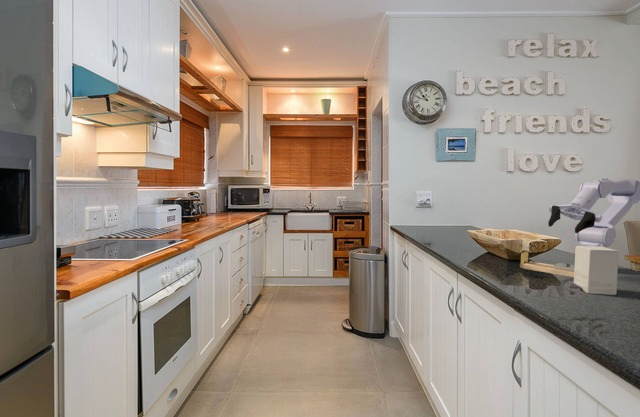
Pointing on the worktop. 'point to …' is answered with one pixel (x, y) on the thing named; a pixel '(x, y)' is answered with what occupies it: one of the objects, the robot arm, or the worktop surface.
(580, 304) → the worktop surface
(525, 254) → the lever
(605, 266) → the supplement box
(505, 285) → the worktop surface
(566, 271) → the board
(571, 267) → the lever cap
